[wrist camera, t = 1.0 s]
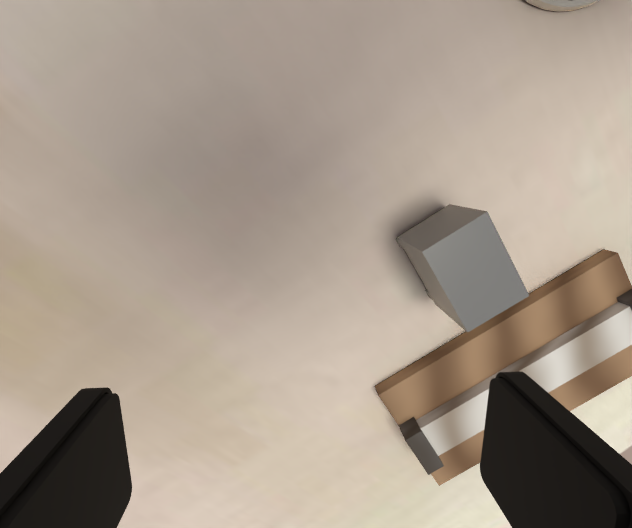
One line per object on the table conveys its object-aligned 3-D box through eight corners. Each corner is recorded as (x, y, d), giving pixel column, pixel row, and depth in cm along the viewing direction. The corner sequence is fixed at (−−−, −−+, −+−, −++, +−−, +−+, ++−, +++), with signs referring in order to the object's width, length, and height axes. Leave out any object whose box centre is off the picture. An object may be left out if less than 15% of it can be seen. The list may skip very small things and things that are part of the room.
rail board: (603, 249, 34) (638, 257, 30) (646, 351, 37) (683, 369, 33) (374, 386, 35) (384, 408, 32) (433, 473, 38) (447, 503, 35)
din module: (444, 203, 32) (487, 211, 25) (482, 275, 34) (532, 301, 27) (393, 235, 32) (422, 251, 25) (433, 304, 34) (470, 337, 27)
